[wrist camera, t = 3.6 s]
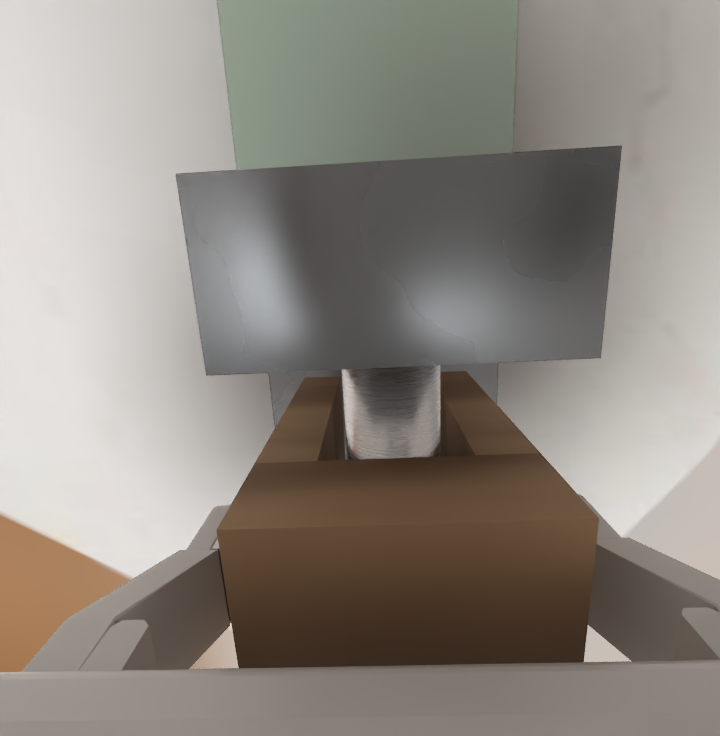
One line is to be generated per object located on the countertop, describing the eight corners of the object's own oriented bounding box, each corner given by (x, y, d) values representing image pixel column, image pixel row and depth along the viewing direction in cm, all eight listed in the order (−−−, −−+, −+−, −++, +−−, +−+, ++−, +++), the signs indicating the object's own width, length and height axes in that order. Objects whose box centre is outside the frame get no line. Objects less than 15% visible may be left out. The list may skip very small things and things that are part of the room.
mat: (205, -152, 16) (196, -173, 15) (518, -180, 15) (526, -205, 14) (243, 183, 19) (238, 180, 18) (506, 167, 18) (512, 162, 17)
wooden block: (304, 378, 14) (216, 529, 6) (465, 370, 13) (599, 518, 6) (315, 508, 15) (256, 777, 7) (464, 503, 15) (571, 776, 7)
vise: (269, 227, 19) (-56, 109, 4) (482, 215, 19) (878, 43, 4) (299, 522, 23) (178, 964, 8) (475, 516, 23) (665, 970, 8)
